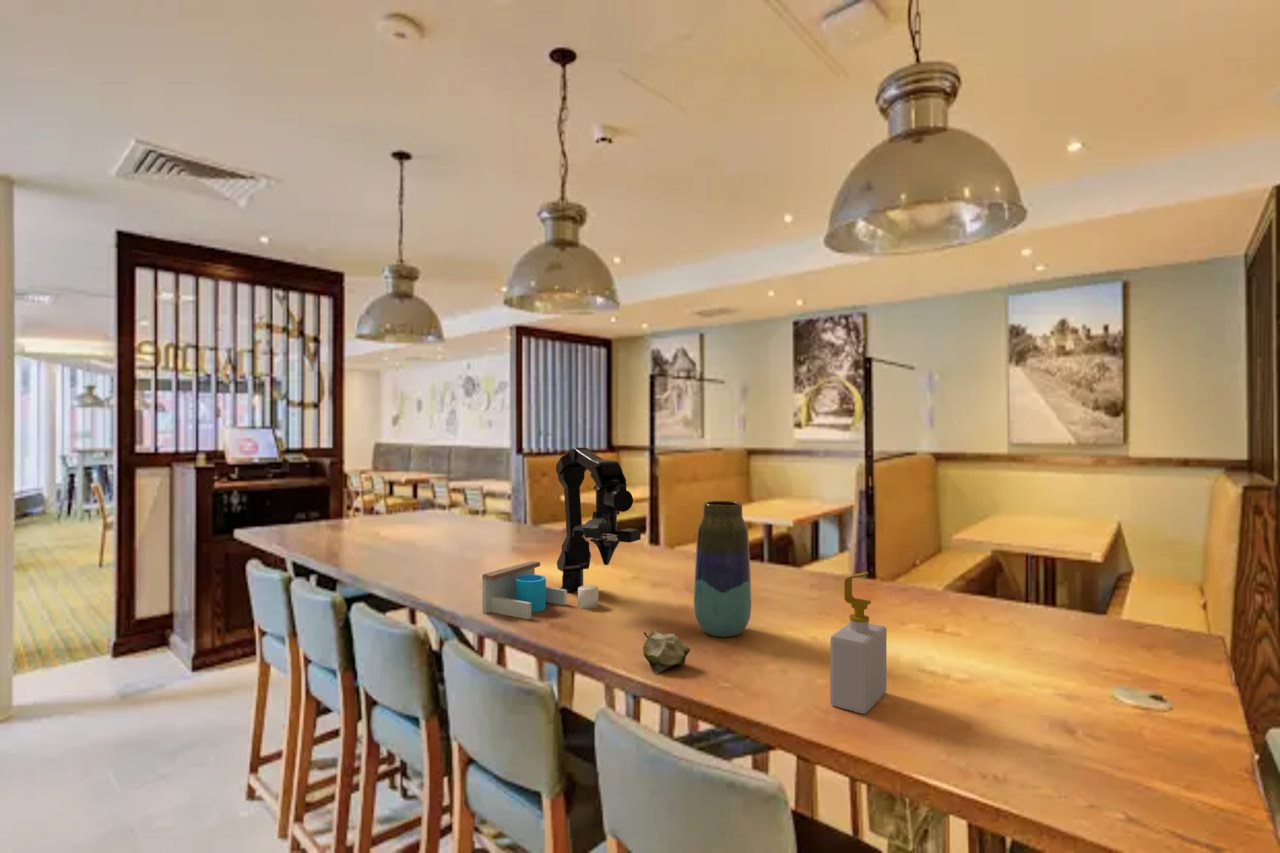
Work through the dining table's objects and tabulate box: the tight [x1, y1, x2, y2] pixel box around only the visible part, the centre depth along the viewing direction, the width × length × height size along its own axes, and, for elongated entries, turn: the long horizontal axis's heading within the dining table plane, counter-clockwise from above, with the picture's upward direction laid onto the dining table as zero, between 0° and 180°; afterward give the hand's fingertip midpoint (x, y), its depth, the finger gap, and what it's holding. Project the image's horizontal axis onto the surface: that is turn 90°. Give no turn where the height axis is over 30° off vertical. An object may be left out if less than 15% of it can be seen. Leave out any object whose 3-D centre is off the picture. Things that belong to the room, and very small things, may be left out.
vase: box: [693, 500, 752, 638], centre depth 159 cm, size 14×14×31 cm
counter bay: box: [482, 560, 568, 620], centre depth 179 cm, size 20×14×10 cm
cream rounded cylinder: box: [577, 584, 599, 610], centre depth 181 cm, size 6×6×5 cm
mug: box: [516, 574, 547, 613], centre depth 181 cm, size 12×8×8 cm
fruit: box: [642, 630, 691, 675], centre depth 137 cm, size 9×9×8 cm
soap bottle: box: [829, 571, 888, 715], centre depth 120 cm, size 12×7×23 cm, turn 143°
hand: (606, 564), depth 178 cm, fingers closed
